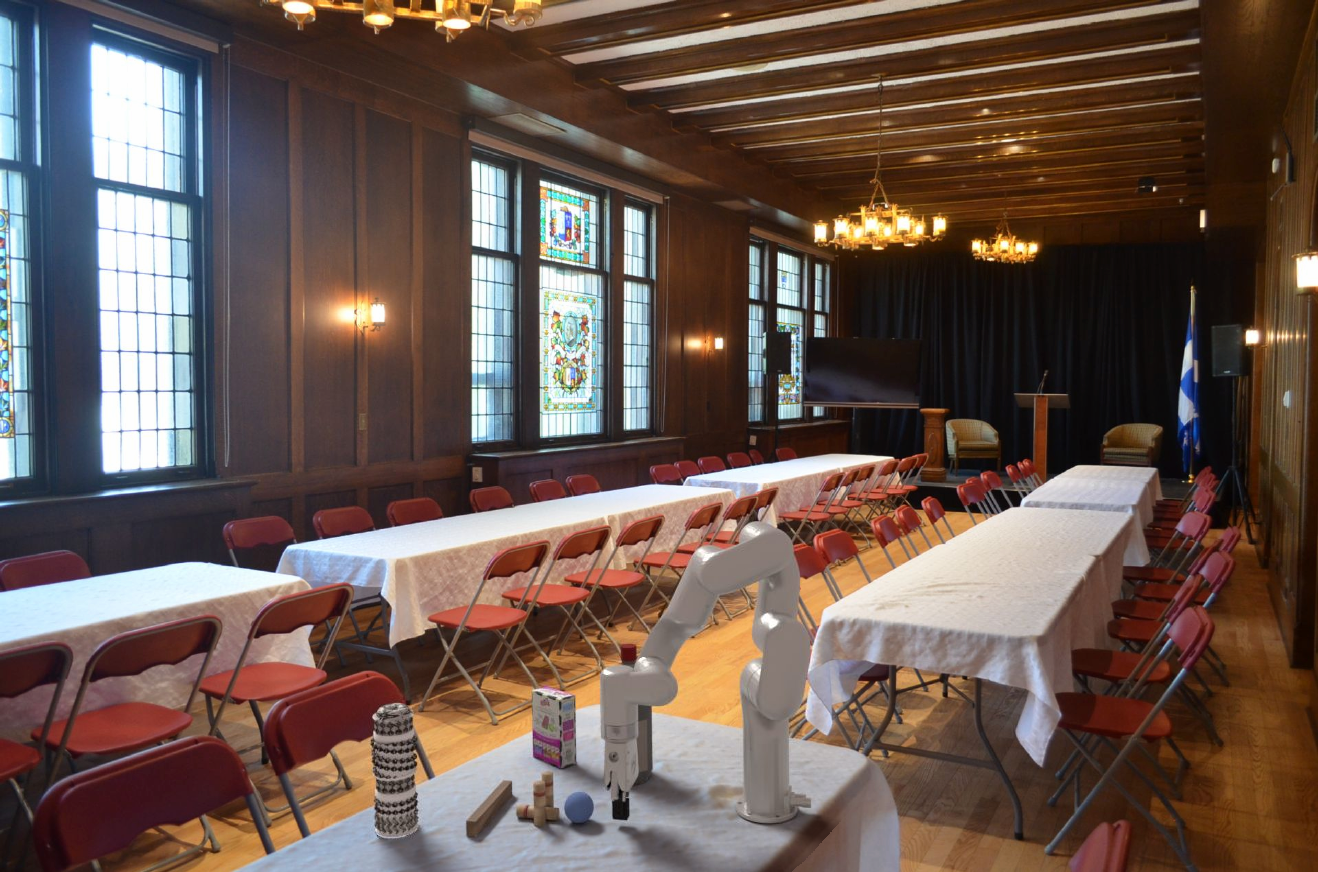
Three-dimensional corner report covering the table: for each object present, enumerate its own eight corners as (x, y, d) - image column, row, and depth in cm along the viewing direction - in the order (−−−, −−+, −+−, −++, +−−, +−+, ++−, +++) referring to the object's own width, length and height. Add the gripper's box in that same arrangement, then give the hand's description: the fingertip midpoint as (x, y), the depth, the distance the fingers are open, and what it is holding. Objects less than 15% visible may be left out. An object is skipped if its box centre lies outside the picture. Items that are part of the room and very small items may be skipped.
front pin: (559, 805, 201) (520, 802, 202) (555, 810, 198) (516, 807, 200) (559, 817, 201) (520, 813, 203) (555, 822, 198) (516, 818, 200)
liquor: (646, 785, 216) (643, 652, 214) (605, 783, 217) (603, 650, 216) (654, 769, 225) (652, 641, 223) (615, 767, 226) (613, 639, 225)
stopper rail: (512, 794, 212) (512, 780, 212) (475, 836, 193) (475, 821, 193) (503, 793, 213) (503, 779, 213) (466, 835, 193) (466, 820, 193)
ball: (564, 793, 202) (577, 819, 202) (555, 805, 196) (568, 832, 196) (588, 782, 201) (602, 808, 201) (580, 794, 195) (594, 821, 195)
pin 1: (547, 821, 199) (546, 780, 198) (543, 827, 196) (542, 785, 196) (536, 820, 199) (535, 779, 199) (532, 826, 197) (531, 784, 196)
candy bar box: (578, 763, 229) (576, 694, 228) (561, 769, 225) (559, 699, 224) (548, 751, 237) (547, 684, 236) (531, 756, 233) (530, 689, 232)
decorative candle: (373, 842, 191) (369, 717, 189) (373, 822, 200) (369, 702, 198) (421, 836, 193) (417, 712, 192) (419, 816, 202) (415, 697, 201)
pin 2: (555, 811, 204) (554, 771, 203) (551, 816, 201) (551, 775, 201) (544, 810, 204) (543, 770, 204) (540, 815, 202) (539, 775, 201)
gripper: (628, 743, 188) (630, 836, 189) (646, 717, 202) (647, 803, 203) (590, 741, 189) (592, 833, 190) (611, 715, 204) (612, 800, 205)
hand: (620, 817), depth 197 cm, fingers closed
